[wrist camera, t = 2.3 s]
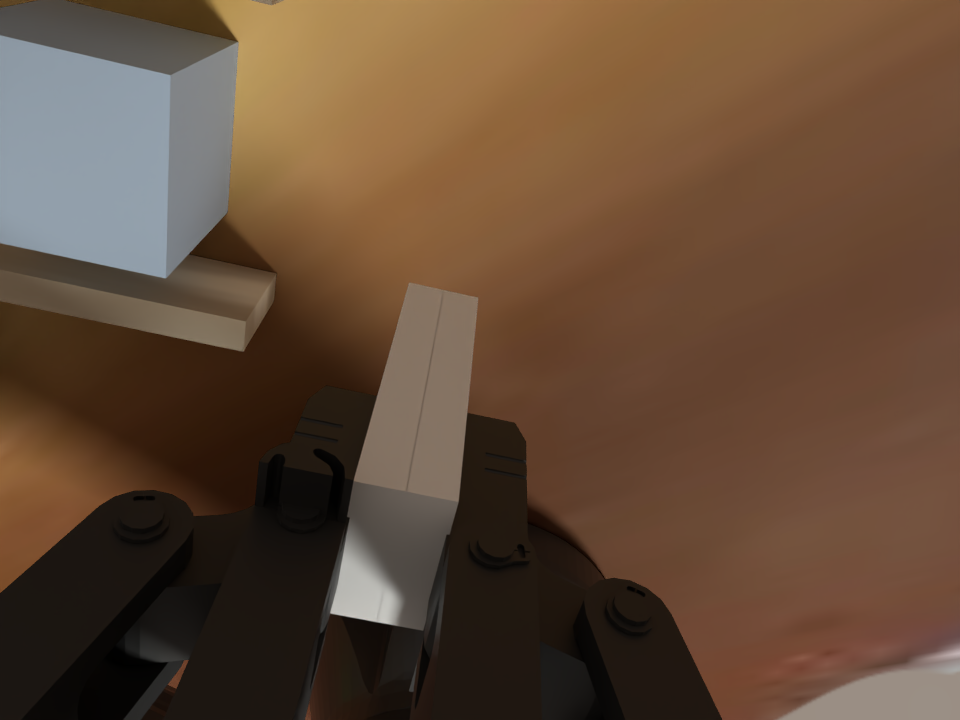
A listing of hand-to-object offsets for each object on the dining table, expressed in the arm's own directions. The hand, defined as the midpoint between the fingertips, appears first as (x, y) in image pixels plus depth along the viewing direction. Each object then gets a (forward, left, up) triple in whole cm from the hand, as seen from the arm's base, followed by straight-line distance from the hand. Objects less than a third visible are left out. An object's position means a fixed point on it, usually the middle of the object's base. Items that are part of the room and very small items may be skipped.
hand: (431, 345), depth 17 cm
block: (0, +11, -12) cm, 17 cm away
